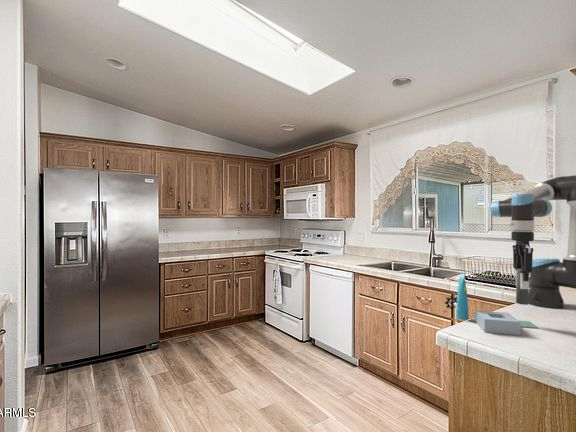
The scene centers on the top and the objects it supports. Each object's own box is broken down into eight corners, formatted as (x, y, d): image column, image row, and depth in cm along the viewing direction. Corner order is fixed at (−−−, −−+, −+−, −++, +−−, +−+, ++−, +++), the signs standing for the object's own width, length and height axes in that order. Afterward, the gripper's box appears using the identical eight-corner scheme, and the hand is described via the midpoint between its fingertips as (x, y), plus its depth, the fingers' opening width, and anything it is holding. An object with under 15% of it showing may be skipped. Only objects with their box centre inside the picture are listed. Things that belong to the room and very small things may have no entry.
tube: (471, 321, 137) (471, 276, 137) (458, 320, 138) (458, 276, 138) (465, 316, 144) (465, 273, 144) (453, 315, 145) (453, 273, 145)
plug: (525, 302, 135) (525, 269, 135) (529, 305, 131) (530, 270, 131) (514, 301, 136) (514, 268, 136) (518, 304, 132) (518, 270, 132)
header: (507, 324, 133) (507, 312, 133) (520, 335, 122) (520, 321, 122) (475, 322, 136) (475, 310, 136) (484, 332, 125) (484, 319, 125)
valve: (473, 317, 144) (457, 309, 156) (473, 302, 144) (457, 295, 156) (458, 317, 144) (444, 309, 156) (458, 302, 144) (444, 295, 156)
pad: (529, 322, 136) (529, 321, 136) (538, 328, 129) (538, 327, 129) (507, 320, 138) (507, 319, 138) (515, 326, 131) (515, 325, 131)
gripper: (504, 230, 143) (504, 283, 143) (520, 231, 126) (520, 291, 126) (523, 230, 141) (523, 284, 141) (543, 232, 124) (543, 292, 124)
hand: (522, 287), depth 133 cm, fingers closed on plug, 4 cm apart
